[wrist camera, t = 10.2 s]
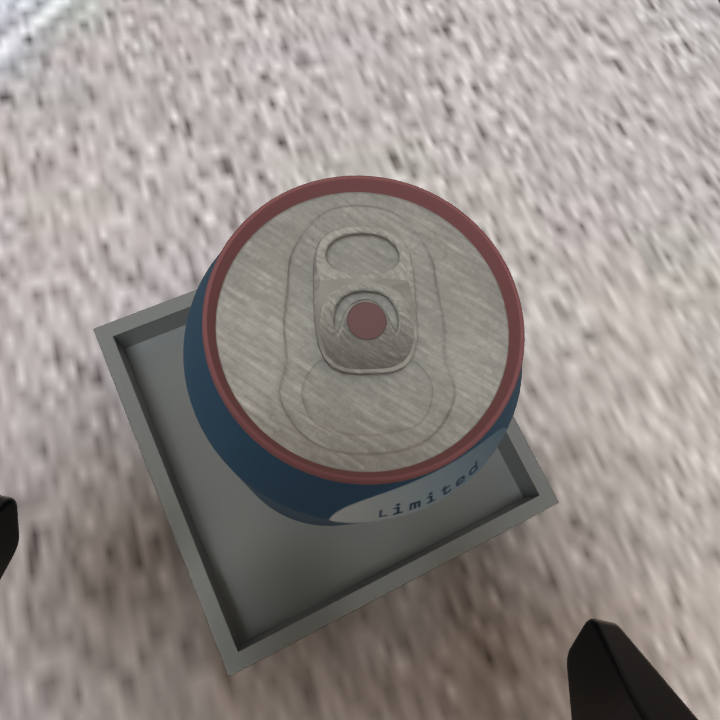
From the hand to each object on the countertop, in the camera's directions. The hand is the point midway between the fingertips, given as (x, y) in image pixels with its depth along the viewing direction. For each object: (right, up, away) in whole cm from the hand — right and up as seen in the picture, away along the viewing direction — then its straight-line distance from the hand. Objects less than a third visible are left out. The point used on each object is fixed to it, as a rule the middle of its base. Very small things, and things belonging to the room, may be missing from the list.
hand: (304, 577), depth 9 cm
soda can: (0, +1, +13) cm, 13 cm away
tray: (-1, +1, +13) cm, 13 cm away
